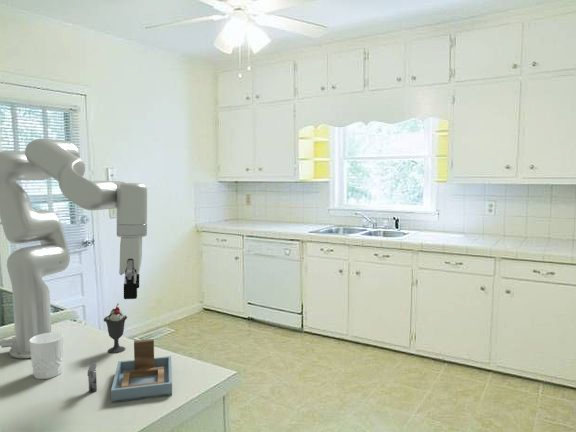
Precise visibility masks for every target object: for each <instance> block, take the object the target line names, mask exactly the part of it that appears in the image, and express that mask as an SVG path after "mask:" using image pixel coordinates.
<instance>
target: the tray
mask: <svg viewBox="0 0 576 432" xmlns="http://www.w3.org/2000/svg"><path fill="white" fill-rule="evenodd" d="M155 367H164V383H159V384H151V385H142V386H134V387H125V388H121V386H122V380H123V375H124V371H128V370H135V364H134V359H128V360H121V361H117V366H116V370H115V373H114V378H113V381H112V384H111V385H112V386H111V389H110V397H111V398H110V399H111V400H110V402H111V403H119V402H127V401H128V402H129V401H136V400H145V399H152V398H161V397H167V396H168V397H169V396H173V377H172V374H173V373H172V355H169V356H159V357H158V356H157V357H154V368H155ZM151 382H158V375H154V376H145V377H136V378H130V382H129V385H135V384H143V383H151Z"/></svg>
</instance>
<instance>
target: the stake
mask: <svg viewBox="0 0 576 432" xmlns="http://www.w3.org/2000/svg"><path fill="white" fill-rule="evenodd" d="M96 369H97V362H96V361H95V362H91V363H90V364H89V366H88V369H87V377H88V393H92V394H93V393H95V392H96V393H97V390H98V389H97V387H98V385H97V370H96Z"/></svg>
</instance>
